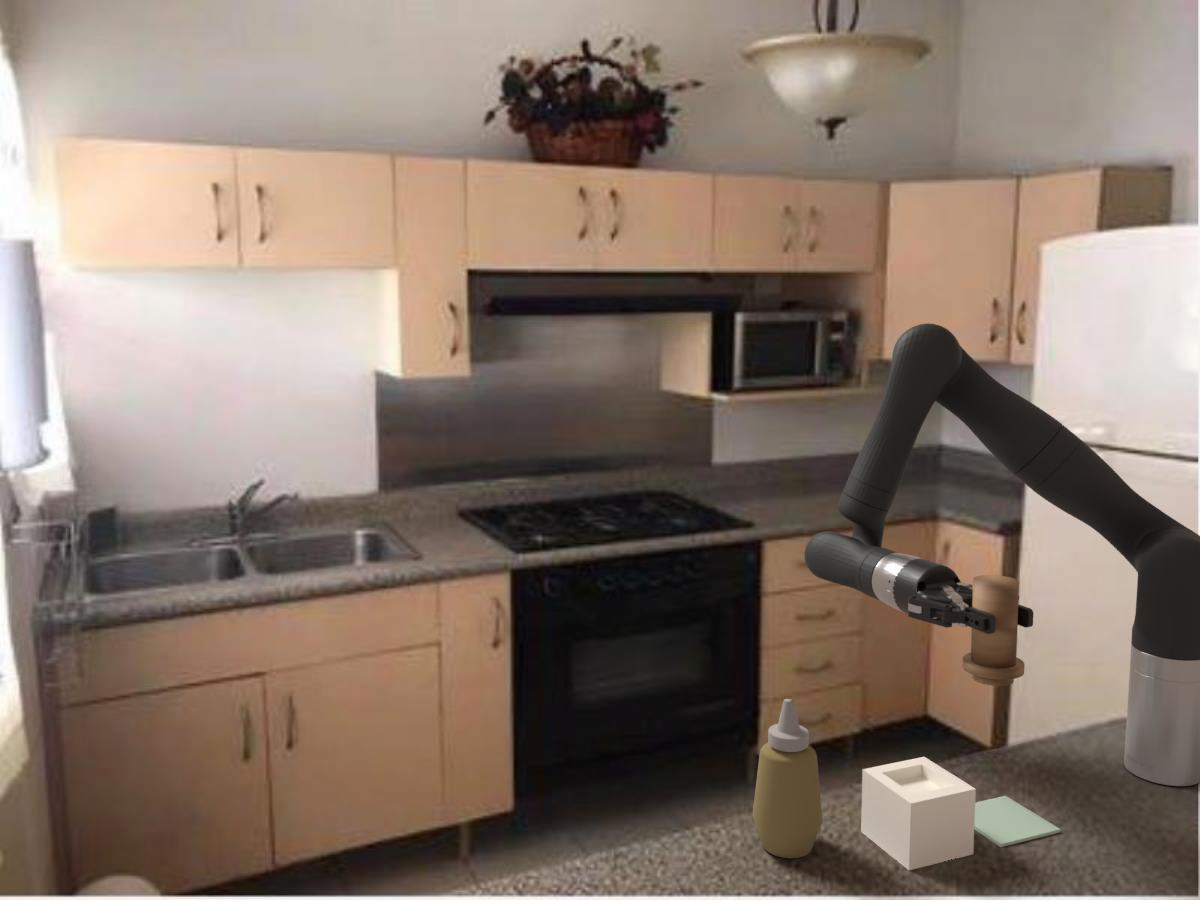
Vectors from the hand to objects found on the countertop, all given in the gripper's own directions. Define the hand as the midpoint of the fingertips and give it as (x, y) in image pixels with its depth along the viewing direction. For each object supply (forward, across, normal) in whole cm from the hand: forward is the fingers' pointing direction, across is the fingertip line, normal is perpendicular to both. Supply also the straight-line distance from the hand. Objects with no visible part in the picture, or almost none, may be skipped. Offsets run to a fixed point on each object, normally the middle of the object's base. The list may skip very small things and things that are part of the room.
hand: (1011, 621), depth 113 cm
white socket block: (-3, -10, +27) cm, 29 cm away
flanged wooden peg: (-3, 0, +8) cm, 8 cm away
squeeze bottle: (-9, -25, +27) cm, 37 cm away
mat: (-3, +3, +27) cm, 27 cm away
